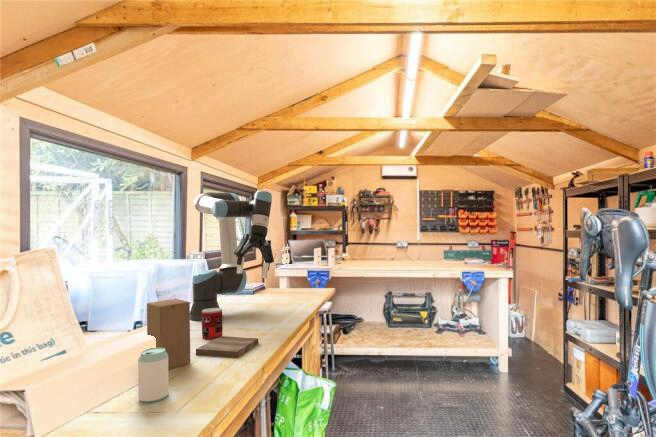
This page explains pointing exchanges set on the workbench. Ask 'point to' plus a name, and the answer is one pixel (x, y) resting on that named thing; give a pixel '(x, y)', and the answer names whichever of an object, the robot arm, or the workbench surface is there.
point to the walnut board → (227, 346)
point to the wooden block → (171, 329)
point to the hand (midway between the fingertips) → (252, 275)
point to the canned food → (212, 323)
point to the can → (153, 375)
